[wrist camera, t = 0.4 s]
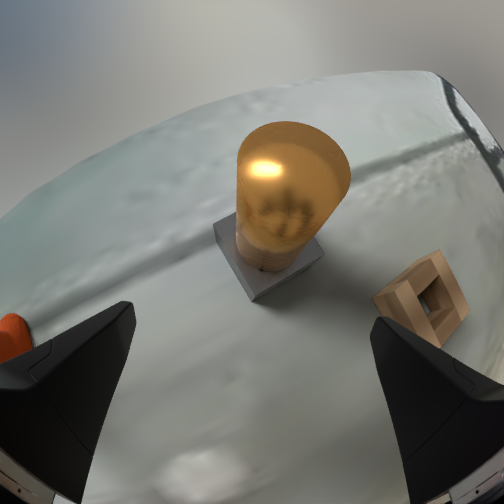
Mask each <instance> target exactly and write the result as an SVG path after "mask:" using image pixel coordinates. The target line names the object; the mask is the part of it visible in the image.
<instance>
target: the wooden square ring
mask: <svg viewBox="0 0 504 504" xmlns="http://www.w3.org/2000/svg"><path fill="white" fill-rule="evenodd" d="M420 293H421V295H422V297H423V299H424V301H425V302H426V304H427V306H428V308H429V310H430V313H429V314H428V315H427V316H426V314H425V312H424V310H423V308H422V306H421V304H420V302H419V300H418V298H417V296H418V295H419V294H420ZM372 299H373V301H374V303H375V304H376V306H377V308H378V310H379V311H380V313H381V315H382V316H387V317H389V318H391V319H393V320H394V321H396V322H397V323H399V324H401V325H402V326H404V327H406V328H407V329H409V330H410V331H412V332H414V333H415V334H417V335H418V336H420V337H422V338H423V339H425V340H427V341H428V342H430V343H431V344H433V345H434V346H436V347H438V348H440V347H441V346H442V345H443V344H444V342H445V341H446V340H447V339H448V338H449V337H450V335H451V334H452V333H453V332H454V331H455V329H456V328H457V327H458V326H459V324H460V323H461V322H462V321H463V319H464V318H465V317H466V316H467V314H468V313H469V312H470V309H469V307H468V305H467V302H466V300H465V298H464V296H463V293H462V291H461V289H460V287H459V285H458V283H457V281H456V279H455V277H454V275H453V273H452V271H451V269H450V267H449V265H448V263H447V261H446V259H445V258H444V256H443V254H442V252H441V250H440V249H439V250H437V251H435V252H433V253H431V254H429V255H427V256H425V257H423V258H421V259H419V260H417V261H415V262H414V263H413V264H412V265H411V266H410V267H409V268H407V269H406V270H405V271H404V272H403V273H402V274H400V275H399V276H398V277H397V278H396V279H395V280H393V281H392V282H391V283H390V284H388V285H387V286H386V287H385V288H384V289H382V290H381V291H380V292H379V293H377V294H376V295H375V296H374V297H372Z"/></svg>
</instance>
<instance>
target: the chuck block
mask: <svg viewBox="0 0 504 504" xmlns="http://www.w3.org/2000/svg"><path fill="white" fill-rule="evenodd" d="M213 227H214V232H215V237H216V242H217V244H218V245H219V247H220V249H221V251H222V252H223V254H224V256H225V257H226V259H227V261H228V263H229V264H230V266H231V268H232V270H233V271H234V273H235V275H236V276H237V278H238V280H239V281H240V283H241V285H242V287H243V288H244V290H245V292H246V293H247V295H248V297H249V298H250V300H251V302H252V301H254V300H256V299H257V298H259V297H261V296H262V295H264V294H266V293H268V292H269V291H271V290H273V289H274V288H276V287H278V286H279V285H281V284H283V283H284V282H286V281H288V280H289V279H291V278H293V277H294V276H296V275H298V274H299V273H301V272H303V271H304V270H306V269H307V268H309V267H311V266H312V265H313V264H314V263H315V262H316V261H317V260H318V259H320V258H321V257H322V256H323V255H324V254H325V253H324V252H323V250H322V249H321V247H320V246H319V244H318V242H317V241H316V239H315V238H314V237H313V238H312V239H311V241H310V242H309V243H308V244H307V246H306V247H305V248H304V249H303V251H302V252H301V253H300V254H299V256H298V257H297V258H296V259H295V261H294V262H293V263H292V264H290V265H289V266H288V267H286V268H284V269H281V270H278V271H262V272H261V271H260V270H259V269H257V268H254V267H253V266H251V265H249V264H248V263H247V262H246V261H245V260H244V259H243V258H242V256H241V255H240V253H239V251H238V248H237V244H236V212H235V213H233V214H231V215H229V216H228V217H226V218H224V219H222V220H220V221H218V222H216V223H214V224H213Z"/></svg>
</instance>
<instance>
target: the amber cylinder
mask: <svg viewBox="0 0 504 504" xmlns="http://www.w3.org/2000/svg"><path fill="white" fill-rule="evenodd" d="M350 180H351V172H350V167H349V163H348V160H347V158H346V156H345V154H344V152H343V151H342V149H341V148H340V147H339V145H338V144H337V143H336V142H335V141H334V140H333V139H332V138H330V137H329V136H328V135H326V134H325V133H324V132H322V131H320V130H318V129H316V128H314V127H312V126H309V125H306V124H303V123H298V122H290V121H282V122H274V123H269V124H266V125H264V126H261V127H259V128H257V129H256V130H254V131H253V132H252V133H250V134H249V135H248V136H247V137H246V138H245V140H244V141H243V143H242V144H241V147H240V149H239V152H238V158H237V200H236V244H237V248H238V251H239V253H240V255H241V256H242V258H243V259H244V260H245V261H246V262H247V263H248V264H249V265H251V266H253V267H254V268H257V269H259V270H263V271H278V270H281V269H284V268H286V267H288V266H289V265H290V264H292V263H293V262H294V261H295V259H296V258H297V257H298V256H299V254H300V253H301V252H302V251H303V249H304V248H305V247H306V246H307V244H308V243H309V242H310V241H311V239H312V238H313V237H314V236H315V234H316V233H317V232H318V231H319V229H320V228H321V227H322V225H323V224H324V223H325V222H326V220H327V219H328V218H329V216H330V215H331V214H332V213H333V211H334V210H335V209H336V207H337V206H338V205H339V203H340V202H341V201H342V199H343V198H344V197H345V195H346V193H347V191H348V189H349V186H350Z"/></svg>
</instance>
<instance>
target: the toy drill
mask: <svg viewBox="0 0 504 504" xmlns="http://www.w3.org/2000/svg"><path fill="white" fill-rule="evenodd" d="M31 349H33V348H32V344H31V339H30V335H29V332H28V328H27V326H26V323H25V321H24V320H23V318H22V317H20V316H19V315H17V314H14V313H11V314H7V315H5V316H4V317H3V318H2V319H1V321H0V363H3V362H5V361H7V360H9V359H12V358H14V357H16V356H18V355H20V354H23V353H25V352H27V351H29V350H31Z"/></svg>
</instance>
